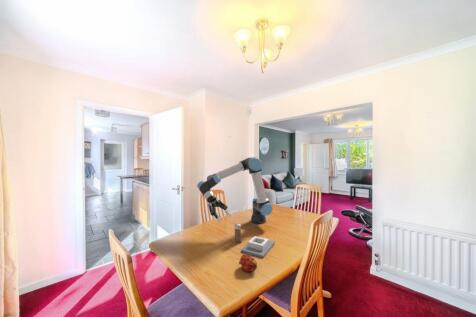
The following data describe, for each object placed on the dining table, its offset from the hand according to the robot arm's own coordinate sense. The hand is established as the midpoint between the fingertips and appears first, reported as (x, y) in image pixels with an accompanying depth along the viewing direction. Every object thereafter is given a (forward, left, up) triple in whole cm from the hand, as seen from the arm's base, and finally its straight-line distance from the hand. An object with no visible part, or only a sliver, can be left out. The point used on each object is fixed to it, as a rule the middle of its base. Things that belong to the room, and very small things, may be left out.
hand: (225, 218), depth 144 cm
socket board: (0, +28, -16) cm, 32 cm away
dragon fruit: (+26, +33, -16) cm, 45 cm away
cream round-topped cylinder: (0, +11, -16) cm, 19 cm away
